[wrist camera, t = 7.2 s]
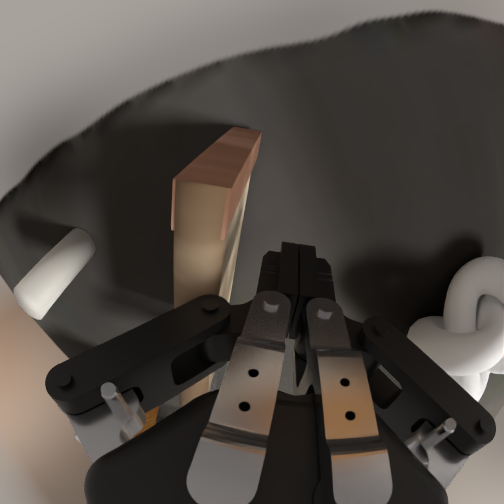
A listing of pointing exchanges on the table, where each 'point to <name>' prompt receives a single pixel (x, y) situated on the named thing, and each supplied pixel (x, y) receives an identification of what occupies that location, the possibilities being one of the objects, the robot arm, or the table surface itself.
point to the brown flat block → (210, 222)
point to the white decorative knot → (468, 326)
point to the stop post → (54, 273)
